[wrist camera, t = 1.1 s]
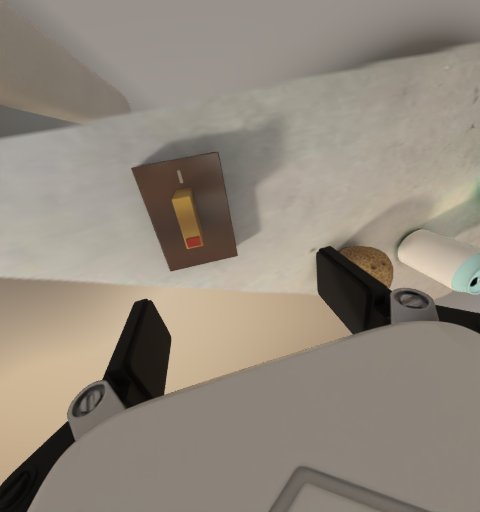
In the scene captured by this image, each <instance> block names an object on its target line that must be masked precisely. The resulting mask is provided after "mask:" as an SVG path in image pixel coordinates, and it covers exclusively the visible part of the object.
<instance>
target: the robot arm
mask: <svg viewBox="0 0 480 512" xmlns="http://www.w3.org/2000/svg"><path fill="white" fill-rule="evenodd" d="M316 262H317V288H318V293H319V295H320V296H321V298H322V299H323V300H324V301H325V302H326V303H327V305H328V306H329V307H330V308H331V309H332V310H333V312H334V313H335V314H336V315H337V316H338V317H339V318H340V320H341V321H342V322H343V323H344V324H345V326H346V327H347V328H348V329H349V330H350V331H351V333H352V334H353V335H350V336H347V337H343V338H340V339H337V340H334V341H331V342H327V343H324V344H321V345H318V346H315V347H311V348H308V349H305V350H302V351H299V352H296V353H292V354H290V355H286V356H283V357H280V358H276V359H273V360H270V361H267V362H264V363H261V364H258V365H254V366H251V367H248V368H245V369H242V370H239V371H236V372H233V373H230V374H226V375H223V376H220V377H217V378H214V379H211V380H208V381H205V382H202V383H199V384H196V385H193V386H189V387H187V388H183V389H180V390H178V391H175V392H172V393H169V394H166V395H164V391H165V384H166V376H167V369H168V361H169V354H170V347H171V335H170V333H169V331H168V329H167V327H166V326H165V324H164V322H163V320H162V318H161V316H160V315H159V313H158V311H157V309H156V307H155V306H154V304H153V302H152V301H151V300H148V299H143V300H140V301H136V302H135V303H134V305H133V307H132V309H131V312H130V314H129V317H128V319H127V322H126V324H125V326H124V329H123V331H122V334H121V336H120V338H119V341H118V343H117V346H116V348H115V350H114V353H113V355H112V358H111V360H110V362H109V365H108V367H107V370H106V372H105V375H104V377H103V379H102V380H100V381H96V382H94V383H92V384H90V385H88V386H87V387H86V388H84V389H83V390H82V391H81V392H80V393H79V394H78V395H77V396H76V397H75V398H74V400H73V401H72V403H71V405H70V406H69V409H68V412H67V418H68V421H67V422H66V423H65V424H64V425H63V426H62V427H61V428H60V429H59V430H58V431H57V432H56V433H55V434H53V435H52V436H51V437H50V438H49V439H48V440H47V441H46V442H45V443H44V444H43V445H42V446H41V447H39V448H38V449H37V450H36V451H35V452H34V453H33V454H32V455H31V456H30V457H29V458H28V459H27V460H26V461H25V462H23V463H22V464H21V465H20V466H19V467H18V468H17V469H16V470H15V471H14V472H13V473H12V474H11V475H10V476H9V477H8V478H7V479H6V480H5V481H4V482H3V483H2V485H1V486H0V512H480V313H475V312H470V311H465V310H459V309H454V308H448V307H443V306H438V305H435V303H434V301H433V299H432V298H431V297H430V296H429V295H427V294H425V293H424V292H421V291H419V290H416V289H411V288H398V289H395V290H393V291H391V290H390V289H388V288H387V286H386V285H384V284H383V283H382V282H380V281H379V280H377V279H376V278H375V277H373V276H372V275H370V274H369V273H367V272H366V271H365V270H363V269H362V268H360V267H359V266H358V265H356V264H355V263H353V262H352V261H351V260H349V259H348V258H346V257H345V256H344V255H342V254H341V253H339V252H338V251H336V250H335V249H334V248H332V247H331V246H328V247H325V248H321V249H319V252H317V253H316Z"/></svg>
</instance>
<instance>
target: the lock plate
mask: <svg viewBox="0 0 480 512" xmlns="http://www.w3.org/2000/svg"><path fill="white" fill-rule="evenodd" d="M131 169H132V171H133V174H134V177H135V179H136V182H137V185H138V187H139V190H140V192H141V195H142V198H143V200H144V203H145V206H146V208H147V211H148V213H149V216H150V219H151V221H152V224H153V227H154V229H155V232H156V235H157V237H158V240H159V242H160V245H161V248H162V250H163V253H164V256H165V258H166V261H167V264H168V266H169V269H170V271H175V270H179V269H183V268H188V267H192V266H196V265H200V264H205V263H209V262H213V261H218V260H222V259H226V258H231V257H235V256H238V255H237V249H236V244H235V239H234V233H233V228H232V223H231V217H230V212H229V206H228V201H227V196H226V190H225V185H224V180H223V174H222V169H221V164H220V158H219V153H218V152H212V153H207V154H201V155H196V156H191V157H185V158H180V159H174V160H169V161H163V162H158V163H152V164H147V165H141V166H137V167H133V168H131ZM186 188H191V189H192V193H193V197H194V201H195V205H196V209H197V212H198V216H199V220H200V224H201V228H202V237H203V246H199V247H194V248H190V249H187V247H186V244H185V240H184V237H183V234H182V231H181V228H180V225H179V221H178V218H177V215H176V212H175V209H174V205H173V202H172V198H173V196H174V194H175V192H176V190H181V189H186Z"/></svg>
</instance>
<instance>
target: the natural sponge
mask: <svg viewBox="0 0 480 512" xmlns="http://www.w3.org/2000/svg"><path fill="white" fill-rule="evenodd" d="M339 253H341V254H342V255H344V256H345V257H346V258H348V259H349V260H351V261H352V262H353V263H355V264H356V265H358V266H359V267H360V268H362V269H363V270H365V271H366V272H367V273H369V274H370V275H372V276H373V277H375V278H376V279H377V280H379V281H380V282H382V283H383V284H384V285H386V286H387V288H388V289H389V288H390V286H391V283H392V279H393V266H392V263H391V261H390V259H389V258H388V256H387V255H386V254H385V253H384V252H382V251H380V250H378V249H375V248H372V247H364V246H353V247H348V248H345V249H343V250H341V251H340V252H339Z"/></svg>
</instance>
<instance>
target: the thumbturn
mask: <svg viewBox="0 0 480 512" xmlns="http://www.w3.org/2000/svg"><path fill="white" fill-rule="evenodd" d="M172 202H173V205H174V209H175V212H176V215H177V218H178V221H179V225H180V228H181V231H182V234H183V237H184V240H185V244H186V247H187V249H190V248H194V247H199V246H203V237H202V228H201V224H200V220H199V216H198V212H197V209H196V205H195V201H194V197H193V193H192V189H191V188H186V189H181V190H176V192H175V194H174V196H173V198H172Z"/></svg>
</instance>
